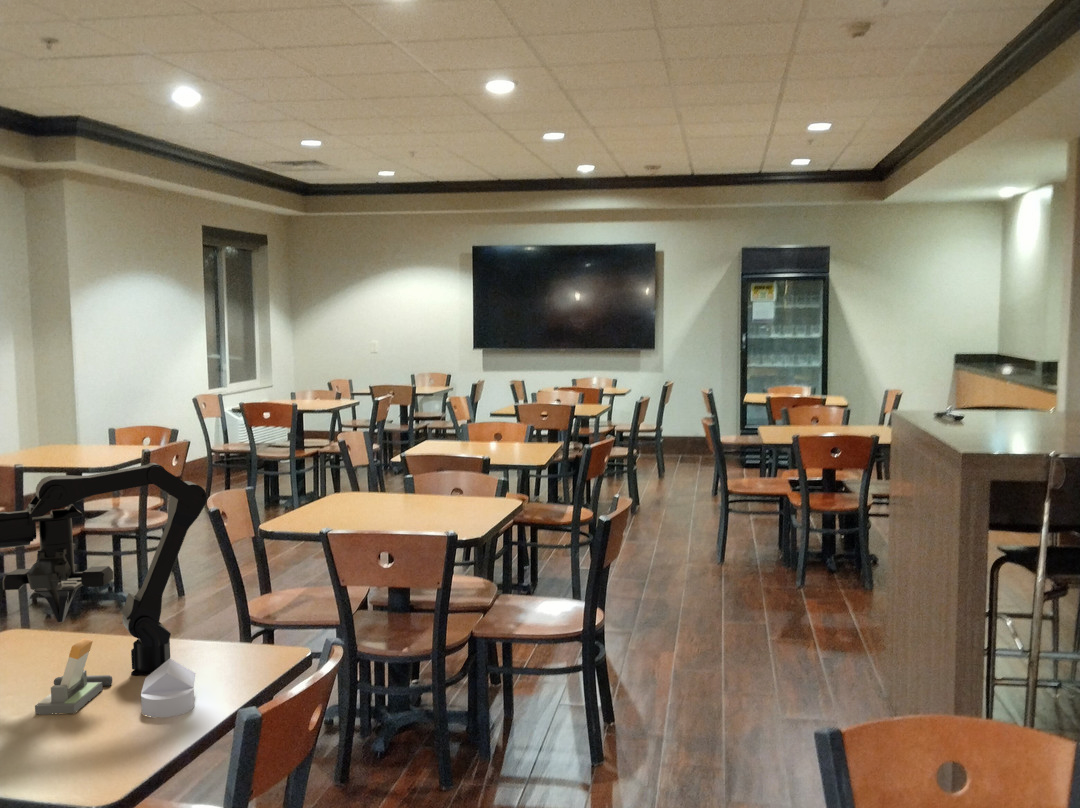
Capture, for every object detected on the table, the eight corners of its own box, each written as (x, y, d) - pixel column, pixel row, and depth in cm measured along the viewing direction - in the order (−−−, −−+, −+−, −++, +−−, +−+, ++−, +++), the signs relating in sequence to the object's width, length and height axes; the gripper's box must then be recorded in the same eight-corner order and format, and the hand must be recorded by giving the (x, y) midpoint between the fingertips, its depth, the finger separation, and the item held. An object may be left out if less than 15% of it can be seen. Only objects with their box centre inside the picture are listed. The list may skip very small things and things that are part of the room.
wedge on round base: (145, 695, 189) (139, 720, 176) (144, 660, 188) (137, 683, 176) (196, 690, 191) (193, 714, 179) (194, 655, 191) (191, 677, 178)
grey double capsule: (115, 681, 197) (115, 672, 197) (108, 687, 193) (108, 678, 193) (60, 681, 196) (59, 673, 196) (52, 688, 193) (51, 678, 193)
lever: (79, 687, 188) (94, 640, 188) (66, 698, 183) (81, 650, 182) (69, 684, 188) (83, 637, 188) (55, 694, 183) (70, 646, 182)
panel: (102, 690, 192) (101, 667, 191) (74, 713, 180) (73, 690, 179) (65, 690, 192) (64, 668, 191) (35, 714, 180) (34, 690, 179)
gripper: (-15, 553, 183) (-9, 636, 184) (90, 549, 184) (94, 632, 186) (13, 540, 194) (18, 618, 195) (112, 537, 195) (116, 615, 197)
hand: (61, 621), depth 193 cm, fingers closed
